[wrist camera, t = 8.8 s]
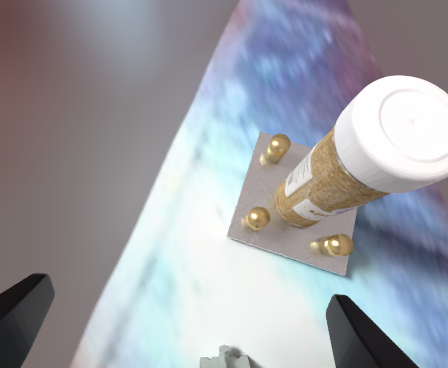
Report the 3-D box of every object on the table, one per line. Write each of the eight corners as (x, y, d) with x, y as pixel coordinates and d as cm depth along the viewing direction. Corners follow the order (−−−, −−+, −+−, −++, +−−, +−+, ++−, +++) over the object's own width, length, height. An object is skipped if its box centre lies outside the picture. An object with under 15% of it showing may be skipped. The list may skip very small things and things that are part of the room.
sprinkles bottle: (296, 238, 22) (421, 206, 9) (262, 194, 23) (330, 107, 10) (336, 207, 23) (503, 136, 10) (302, 166, 24) (413, 51, 11)
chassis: (339, 275, 22) (362, 277, 19) (226, 236, 22) (229, 232, 19) (359, 168, 25) (382, 154, 21) (258, 136, 25) (265, 117, 22)
